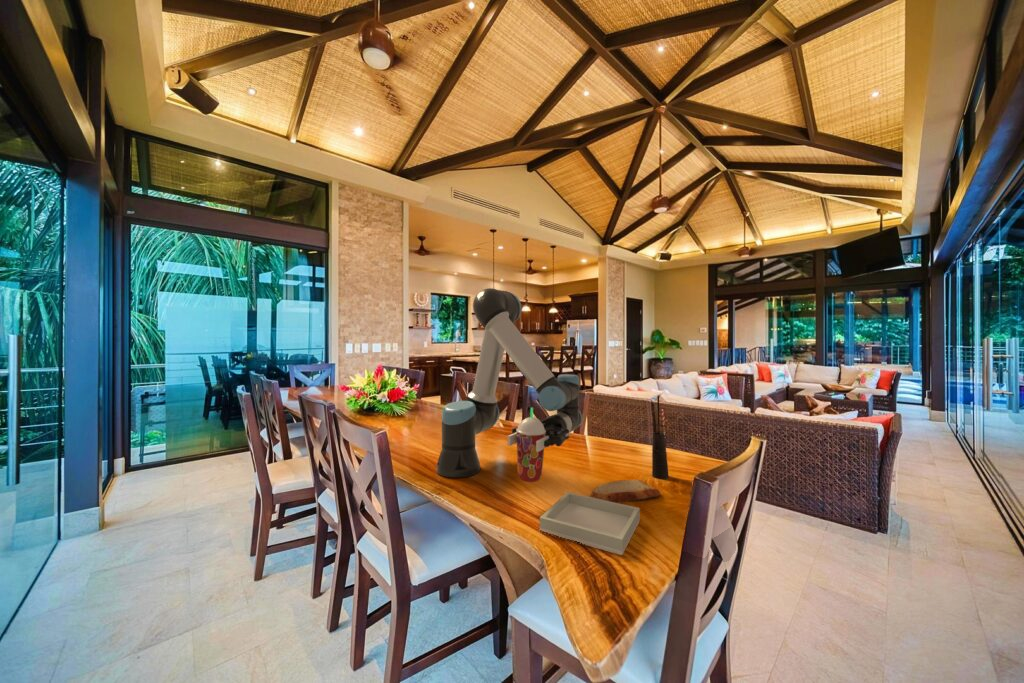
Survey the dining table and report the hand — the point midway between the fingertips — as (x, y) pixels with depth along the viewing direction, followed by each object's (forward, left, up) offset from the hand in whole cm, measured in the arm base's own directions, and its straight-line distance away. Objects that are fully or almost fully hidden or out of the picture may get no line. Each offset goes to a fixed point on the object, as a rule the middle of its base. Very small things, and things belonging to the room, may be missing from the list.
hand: (522, 443), depth 107 cm
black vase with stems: (+28, +49, -19) cm, 59 cm away
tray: (+19, +2, -19) cm, 27 cm away
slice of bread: (+22, +26, -19) cm, 39 cm away
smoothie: (0, +5, -11) cm, 12 cm away
